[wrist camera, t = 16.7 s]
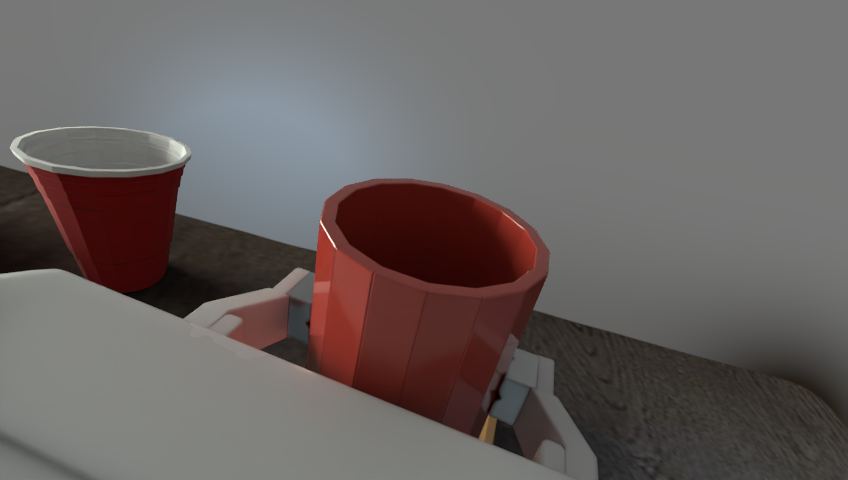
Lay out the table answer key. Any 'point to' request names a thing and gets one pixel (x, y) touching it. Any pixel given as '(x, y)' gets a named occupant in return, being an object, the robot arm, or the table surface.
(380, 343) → the cup
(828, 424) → the table surface
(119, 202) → the plastic cup
